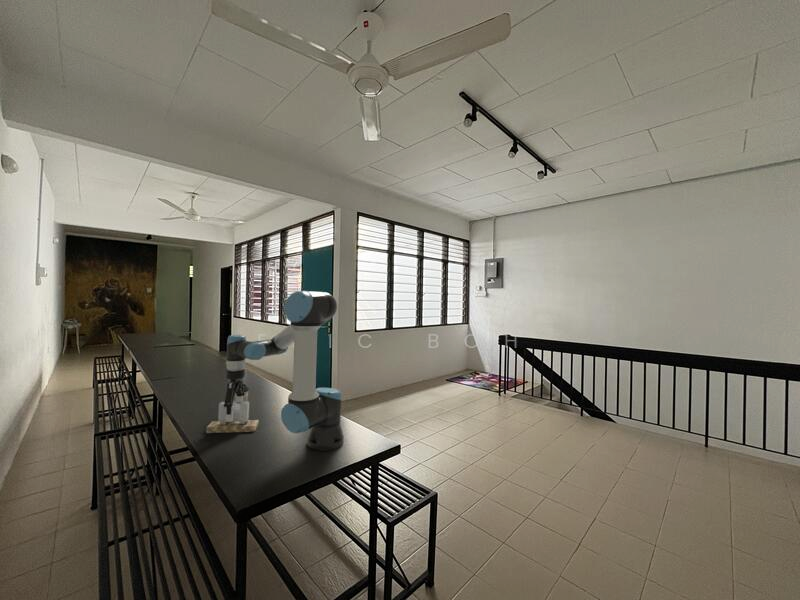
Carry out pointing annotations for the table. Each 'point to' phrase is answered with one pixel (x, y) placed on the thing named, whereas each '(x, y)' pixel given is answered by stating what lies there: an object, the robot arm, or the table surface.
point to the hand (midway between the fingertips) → (234, 415)
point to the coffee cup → (244, 395)
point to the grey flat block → (234, 413)
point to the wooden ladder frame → (232, 427)
